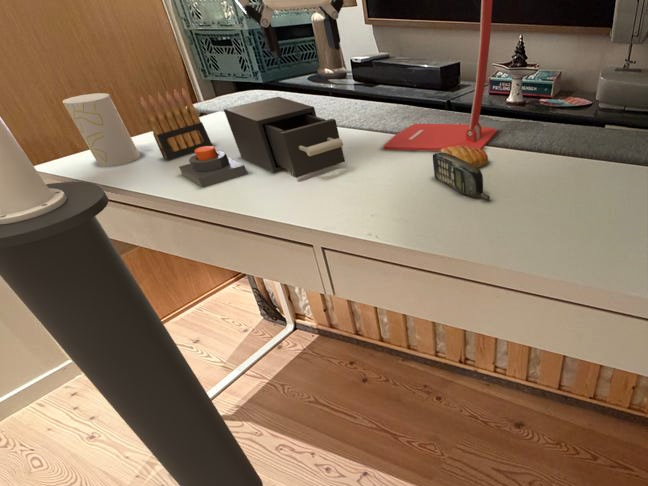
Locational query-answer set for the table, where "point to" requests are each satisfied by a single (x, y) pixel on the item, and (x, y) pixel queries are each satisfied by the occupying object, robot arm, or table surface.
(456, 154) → the pastry
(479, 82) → the desk lamp
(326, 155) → the drawer
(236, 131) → the cabinet
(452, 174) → the mobile phone
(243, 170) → the control block
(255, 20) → the robot arm
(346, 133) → the table surface
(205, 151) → the button
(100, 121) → the white patterned cylinder
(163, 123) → the ammunition clip
